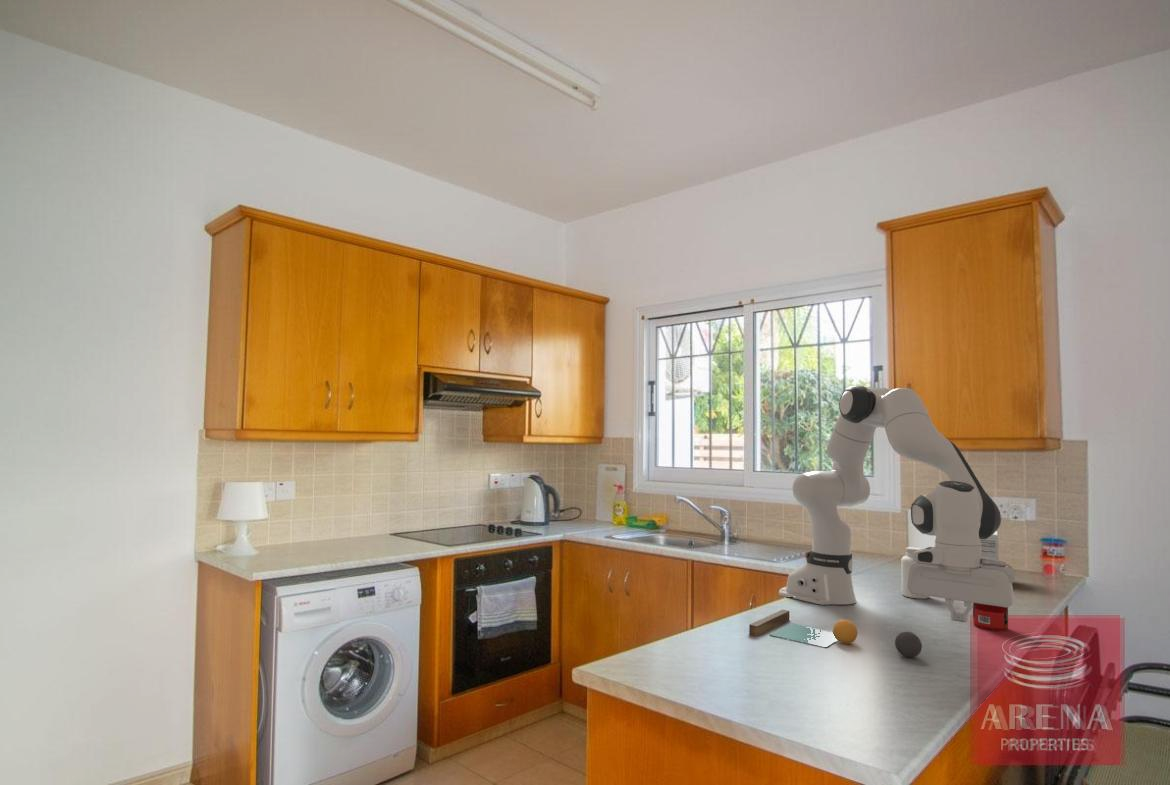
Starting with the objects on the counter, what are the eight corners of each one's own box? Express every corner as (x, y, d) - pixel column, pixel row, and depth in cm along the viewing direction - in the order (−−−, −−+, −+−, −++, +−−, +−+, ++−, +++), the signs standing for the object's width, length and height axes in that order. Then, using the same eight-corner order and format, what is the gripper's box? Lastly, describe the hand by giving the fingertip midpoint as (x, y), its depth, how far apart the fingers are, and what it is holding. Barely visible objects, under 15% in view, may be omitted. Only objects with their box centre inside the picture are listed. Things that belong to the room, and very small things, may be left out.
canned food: (1013, 632, 173) (1012, 589, 173) (979, 630, 174) (978, 587, 175) (1001, 624, 180) (1000, 583, 181) (968, 622, 182) (968, 581, 182)
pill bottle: (927, 594, 213) (926, 547, 214) (931, 600, 206) (930, 551, 207) (899, 592, 216) (899, 545, 217) (903, 597, 208) (902, 549, 209)
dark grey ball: (891, 656, 151) (891, 632, 151) (898, 651, 155) (898, 627, 155) (918, 662, 147) (918, 637, 148) (924, 656, 151) (924, 632, 152)
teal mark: (769, 635, 165) (769, 634, 165) (792, 624, 176) (792, 623, 176) (826, 648, 156) (826, 647, 156) (846, 635, 167) (846, 634, 167)
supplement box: (956, 574, 247) (955, 526, 248) (998, 579, 241) (997, 530, 242) (955, 580, 236) (954, 530, 237) (999, 586, 229) (998, 534, 230)
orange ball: (829, 643, 160) (829, 620, 160) (837, 638, 164) (837, 615, 164) (853, 648, 156) (853, 624, 156) (860, 643, 160) (860, 619, 161)
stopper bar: (749, 634, 165) (749, 624, 165) (782, 618, 180) (782, 609, 181) (756, 636, 164) (756, 626, 164) (789, 620, 179) (789, 610, 179)
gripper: (1016, 560, 142) (1018, 627, 141) (912, 549, 155) (913, 610, 154) (1012, 564, 137) (1014, 633, 136) (904, 552, 150) (905, 615, 149)
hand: (959, 621), depth 145 cm, fingers closed
